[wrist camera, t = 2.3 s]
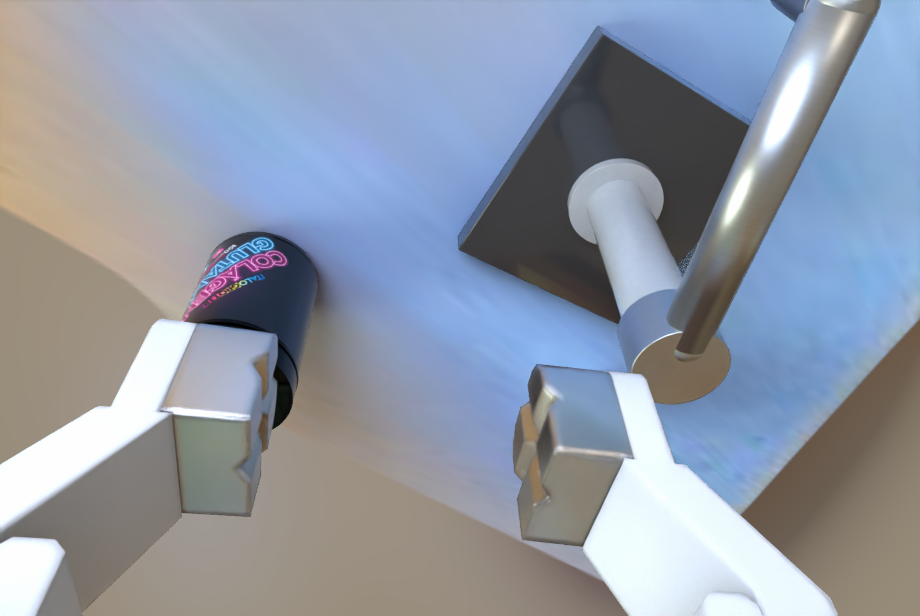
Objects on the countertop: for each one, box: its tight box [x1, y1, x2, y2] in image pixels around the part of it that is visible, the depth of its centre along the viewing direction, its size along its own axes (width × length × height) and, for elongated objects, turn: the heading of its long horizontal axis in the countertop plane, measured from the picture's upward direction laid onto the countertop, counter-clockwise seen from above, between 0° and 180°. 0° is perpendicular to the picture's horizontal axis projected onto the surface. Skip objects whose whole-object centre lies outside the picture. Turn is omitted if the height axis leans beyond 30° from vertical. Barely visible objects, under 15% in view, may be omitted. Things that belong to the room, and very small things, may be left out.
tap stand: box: [458, 26, 751, 325], centre depth 36 cm, size 14×12×12 cm
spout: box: [617, 0, 881, 404], centre depth 26 cm, size 17×4×4 cm, turn 170°
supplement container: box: [181, 232, 318, 429], centre depth 40 cm, size 7×7×10 cm
